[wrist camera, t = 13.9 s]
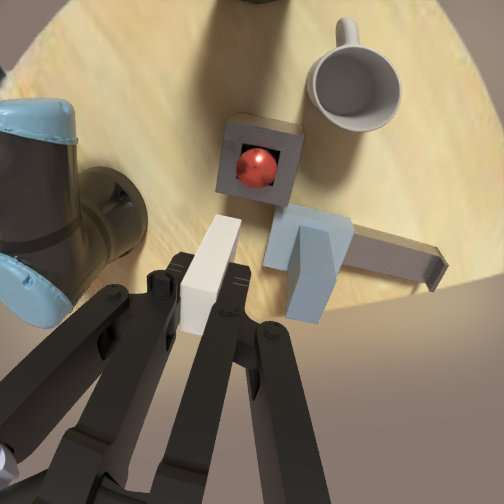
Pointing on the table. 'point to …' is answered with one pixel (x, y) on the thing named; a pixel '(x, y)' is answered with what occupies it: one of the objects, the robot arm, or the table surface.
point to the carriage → (307, 256)
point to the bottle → (257, 1)
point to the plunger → (257, 167)
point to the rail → (394, 256)
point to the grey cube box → (264, 135)
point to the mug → (354, 83)
